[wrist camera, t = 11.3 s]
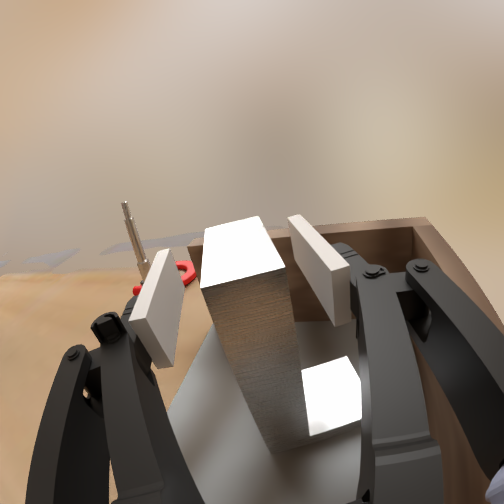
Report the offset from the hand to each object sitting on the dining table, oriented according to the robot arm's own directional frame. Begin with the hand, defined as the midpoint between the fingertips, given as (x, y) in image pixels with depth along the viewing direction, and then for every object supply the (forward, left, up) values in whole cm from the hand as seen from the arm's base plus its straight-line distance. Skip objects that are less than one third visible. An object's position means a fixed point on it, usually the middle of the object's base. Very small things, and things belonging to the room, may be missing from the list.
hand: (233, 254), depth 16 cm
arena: (+4, -5, -10) cm, 12 cm away
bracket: (+4, -4, -9) cm, 11 cm away
